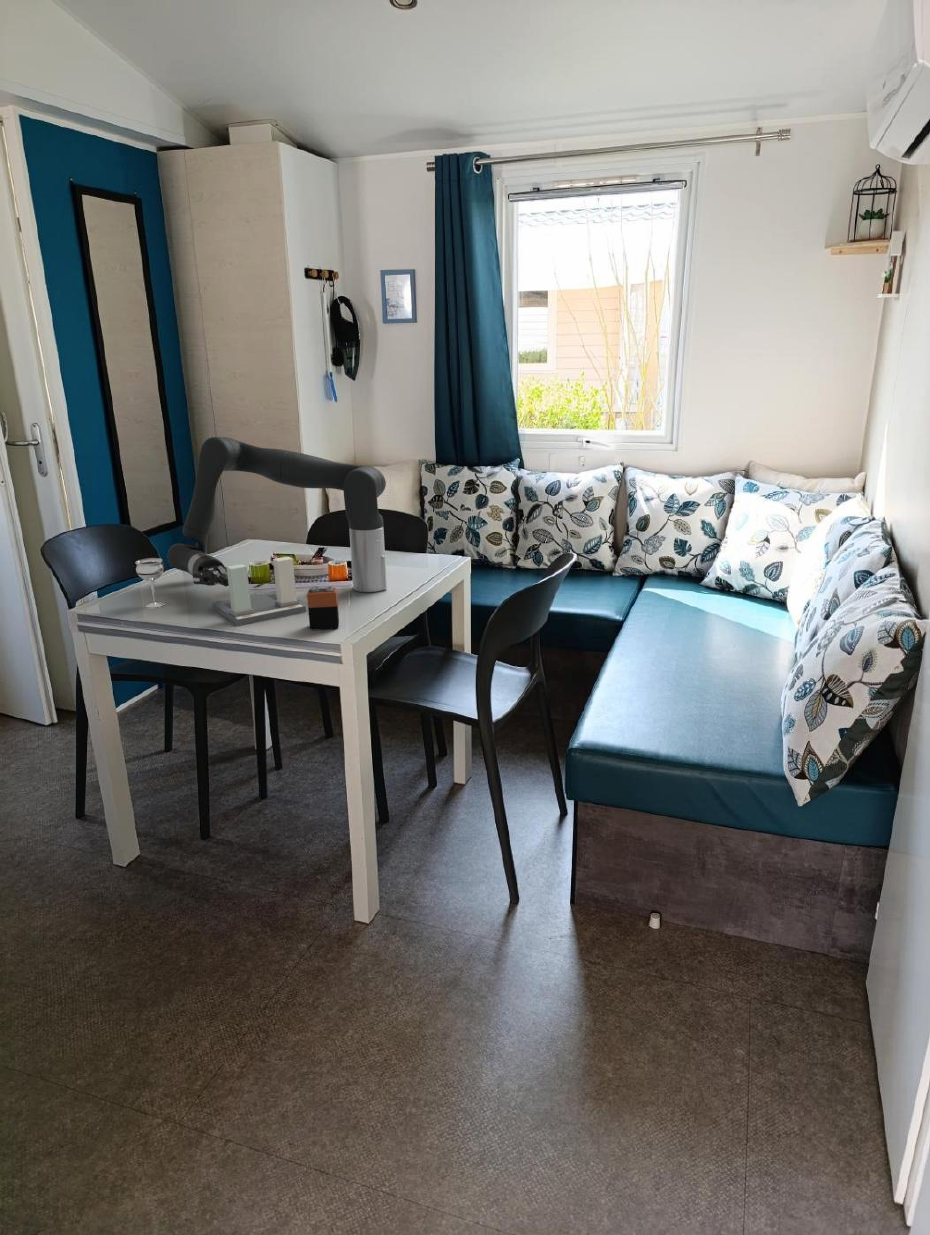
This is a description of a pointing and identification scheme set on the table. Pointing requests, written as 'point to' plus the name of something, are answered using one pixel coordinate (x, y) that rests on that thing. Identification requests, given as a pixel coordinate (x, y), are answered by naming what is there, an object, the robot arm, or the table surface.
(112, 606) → the table surface
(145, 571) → the wineglass
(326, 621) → the battery
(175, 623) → the table surface
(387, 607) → the table surface
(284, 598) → the cream tab
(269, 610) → the grey square tray
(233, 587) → the sage tab
